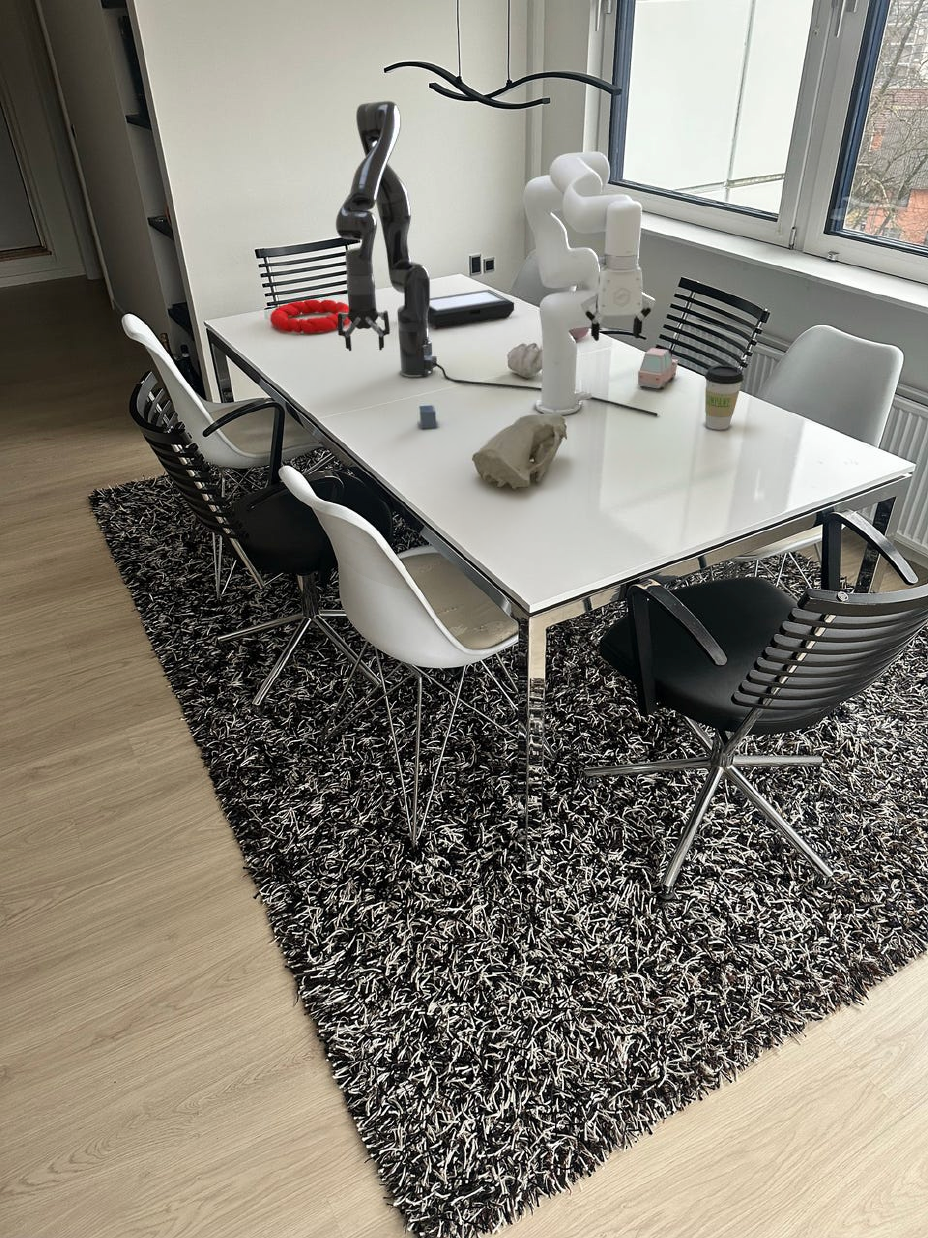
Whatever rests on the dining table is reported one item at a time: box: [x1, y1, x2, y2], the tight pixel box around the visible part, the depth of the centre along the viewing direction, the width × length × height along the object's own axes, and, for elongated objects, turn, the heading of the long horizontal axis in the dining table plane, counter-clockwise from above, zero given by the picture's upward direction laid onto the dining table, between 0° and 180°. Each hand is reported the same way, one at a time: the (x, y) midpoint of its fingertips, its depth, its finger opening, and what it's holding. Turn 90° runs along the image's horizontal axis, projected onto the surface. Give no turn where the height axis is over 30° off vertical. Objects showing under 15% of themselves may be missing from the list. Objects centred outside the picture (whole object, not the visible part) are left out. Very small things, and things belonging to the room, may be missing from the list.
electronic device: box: [428, 289, 515, 330], centre depth 327 cm, size 32×6×20 cm
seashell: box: [506, 342, 542, 379], centre depth 273 cm, size 10×15×10 cm
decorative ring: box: [269, 299, 351, 334], centre depth 328 cm, size 7×30×30 cm
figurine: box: [569, 327, 590, 340], centre depth 302 cm, size 9×11×12 cm
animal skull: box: [471, 412, 568, 490], centre depth 215 cm, size 17×25×20 cm
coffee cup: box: [704, 364, 745, 431], centre depth 235 cm, size 10×10×15 cm
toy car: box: [637, 347, 679, 389], centre depth 265 cm, size 9×15×10 cm, turn 149°
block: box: [419, 404, 437, 430], centre depth 244 cm, size 5×4×5 cm
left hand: (365, 349), depth 250 cm, fingers open, 8 cm apart
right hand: (615, 337), depth 210 cm, fingers open, 9 cm apart
